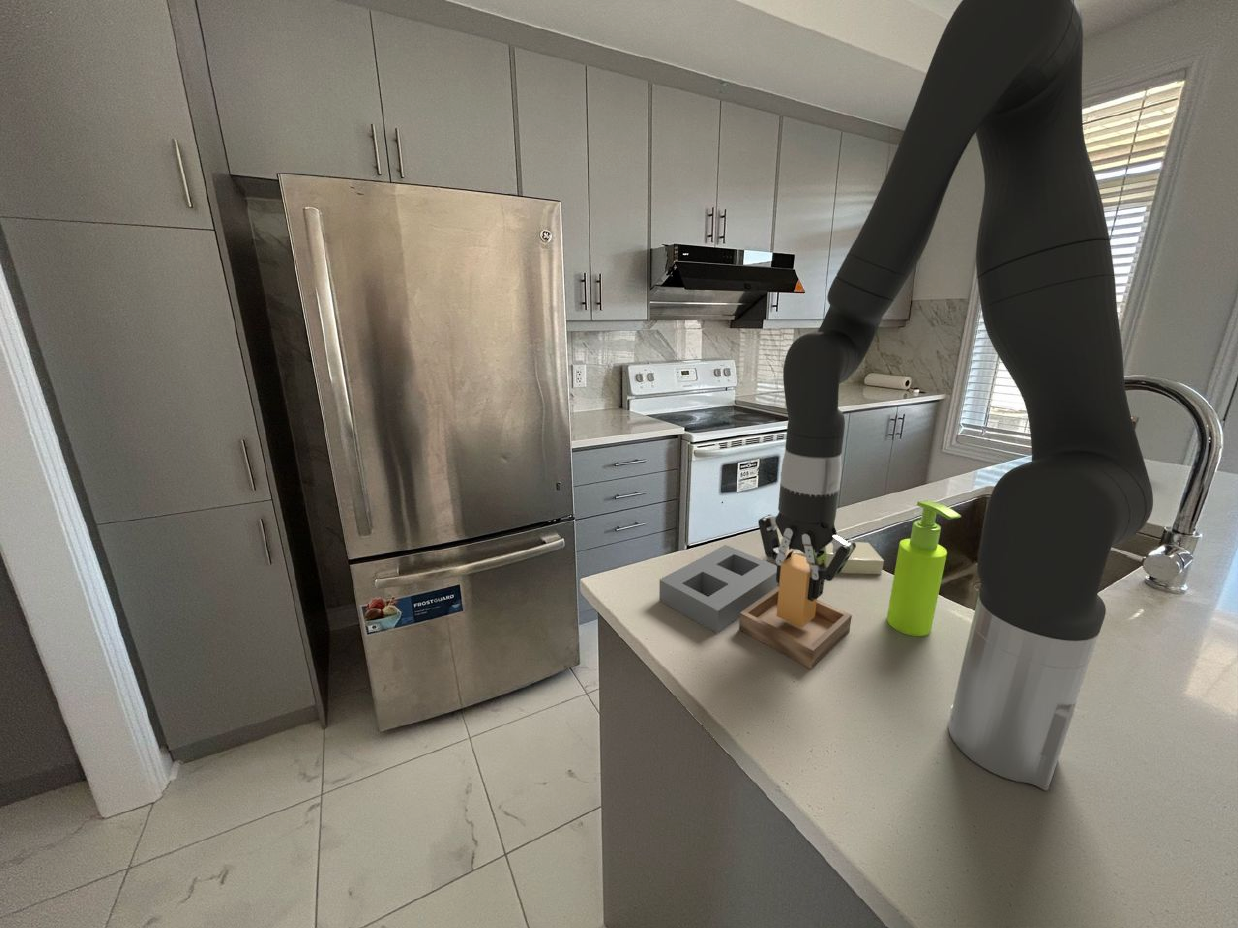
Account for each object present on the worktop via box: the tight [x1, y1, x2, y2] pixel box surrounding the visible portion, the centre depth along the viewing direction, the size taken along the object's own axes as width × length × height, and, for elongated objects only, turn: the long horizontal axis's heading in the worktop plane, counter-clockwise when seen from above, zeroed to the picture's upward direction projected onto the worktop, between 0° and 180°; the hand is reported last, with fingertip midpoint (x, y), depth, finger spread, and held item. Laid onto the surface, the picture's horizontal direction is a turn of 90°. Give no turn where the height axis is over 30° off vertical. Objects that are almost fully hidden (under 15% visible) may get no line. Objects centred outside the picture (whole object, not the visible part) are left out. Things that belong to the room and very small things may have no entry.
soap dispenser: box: [886, 500, 962, 637], centre depth 70 cm, size 6×7×20 cm
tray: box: [738, 587, 853, 670], centre depth 72 cm, size 12×12×3 cm
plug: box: [776, 554, 818, 628], centre depth 70 cm, size 4×4×9 cm
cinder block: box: [658, 544, 779, 634], centre depth 81 cm, size 12×18×4 cm, turn 131°
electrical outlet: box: [778, 536, 885, 575], centre depth 91 cm, size 7×4×18 cm
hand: (797, 591), depth 70 cm, fingers closed on plug, 4 cm apart
